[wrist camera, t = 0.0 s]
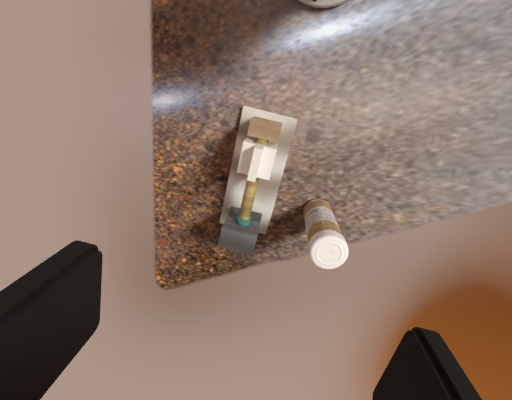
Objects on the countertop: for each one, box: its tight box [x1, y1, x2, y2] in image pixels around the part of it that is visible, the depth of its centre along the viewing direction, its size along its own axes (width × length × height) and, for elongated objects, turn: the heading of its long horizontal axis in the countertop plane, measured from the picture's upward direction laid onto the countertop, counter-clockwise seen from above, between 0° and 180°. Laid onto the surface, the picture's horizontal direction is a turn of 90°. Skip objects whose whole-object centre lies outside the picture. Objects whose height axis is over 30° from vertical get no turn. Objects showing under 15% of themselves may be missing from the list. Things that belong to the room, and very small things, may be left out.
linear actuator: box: [218, 106, 298, 256], centre depth 41 cm, size 19×8×9 cm, turn 167°
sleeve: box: [237, 137, 278, 182], centre depth 36 cm, size 4×4×6 cm
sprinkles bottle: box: [303, 199, 348, 269], centre depth 40 cm, size 5×5×14 cm
